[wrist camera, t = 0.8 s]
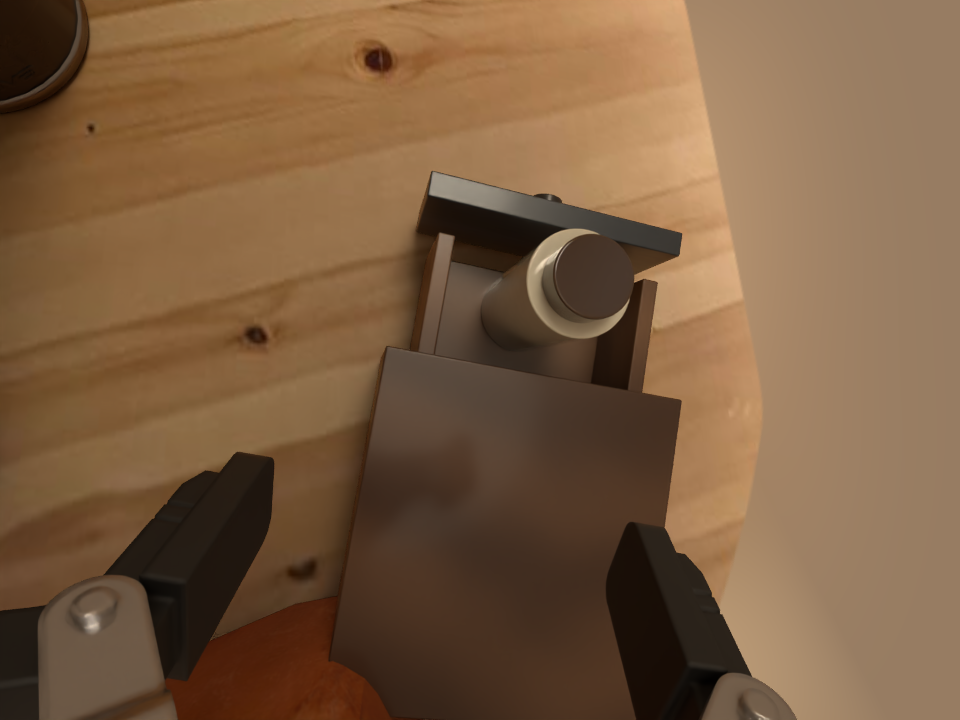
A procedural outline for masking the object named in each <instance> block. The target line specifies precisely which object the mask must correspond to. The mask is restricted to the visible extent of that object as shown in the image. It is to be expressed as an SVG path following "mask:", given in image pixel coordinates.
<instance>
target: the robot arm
mask: <svg viewBox="0 0 960 720" xmlns="http://www.w3.org/2000/svg"><path fill="white" fill-rule="evenodd" d="M87 39H88V21H87V15H86V10H85V7H84V3H83V0H0V113H5V112H10V111H16V110H20V109H23V108H27V107H29V106H32V105H35V104H37V103H39V102H41V101H43V100H45V99H46V98H48V97H50V96H51V95H53V94H54V93H56V92H57V91H58V90H59V89H61V88H62V87H63V86H64V85H65V84H66V83H67V82H68V81H69V79H70V78H71V77H72V76H73V74H74V73H75V71H76V70H77V68H78V67H79V65H80V63H81V61H82V58H83V56H84V53H85V49H86V45H87ZM273 479H274V460H273V458H271V457H265V456H260V455H254V454H248V453H242V452H236V453H235V454H234V455H233V456H232V457H231V459H230V460H229V461H228V463H227V464H226V465H225V466H224V468H223V469H222V470H221V471H220V473H217V472H211V471H204V472H202V473H200V474H199V475H197V476H195V477H193V478H192V479H190V480H188V481H186V482H185V483H183V484H182V485H181V486H180V487H179V489H178V490H177V491H176V492H175V493H174V494H173V495H172V497H171V498H170V499H169V500H168V503H167V505H166V504H165V505H164V506H163V507H162V508H161V509H160V510H159V512H158V513H157V514H156V515H155V518H154V519H152V520H151V521H150V522H149V523H148V524H147V525H146V527H145V528H144V529H143V530H142V531H141V532H140V534H139V535H138V536H137V537H136V538H135V539H134V540H133V542H132V543H131V544H130V545H129V546H128V547H127V549H126V550H125V551H124V552H123V553H122V554H121V555H120V557H119V558H118V559H117V560H116V561H115V562H114V564H113V565H112V566H111V567H110V568H109V569H108V570H107V572H106V573H105V574H104V575H103V576H98V577H93V578H89V579H86V580H83V581H81V582H78V583H76V584H74V585H72V586H70V587H68V588H66V589H65V590H63V591H62V592H60V593H59V594H58V595H56V596H55V597H54V598H53V599H52V600H51V601H50V602H49V603H48V604H47V605H44V606H38V607H31V608H22V609H12V610H3V611H0V720H178V717H177V713H176V708H175V704H174V699H173V696H172V693H171V690H170V689H169V690H167V688H166V684H165V680H166V678H169V679H175V680H182V681H188V679H189V677H190V675H191V673H192V671H193V670H194V668H195V666H196V664H197V662H198V660H199V659H200V657H201V655H202V653H203V651H204V649H205V648H206V646H207V644H208V642H209V640H210V639H211V637H212V635H213V633H214V631H215V629H216V628H217V626H218V624H219V622H220V620H221V618H222V617H223V615H224V613H225V611H226V609H227V608H228V606H229V604H230V602H231V600H232V598H233V597H234V595H235V593H236V591H237V589H238V587H239V586H240V584H241V582H242V580H243V578H244V577H245V575H246V573H247V571H248V569H249V567H250V566H251V564H252V562H253V560H254V558H255V556H256V555H257V553H258V551H259V549H260V547H261V545H262V544H263V542H264V539H265V537H266V534H267V531H268V528H269V524H270V519H271V512H272V495H273ZM606 600H607V604H608V608H609V612H610V616H611V620H612V624H613V628H614V632H615V637H616V641H617V645H618V649H619V653H620V657H621V661H622V665H623V669H624V673H625V677H626V681H627V685H628V689H629V693H630V697H631V701H632V705H633V709H634V713H635V717H636V720H797V719H796V717H795V715H794V713H793V712H792V710H791V708H790V707H789V706H788V705H787V703H786V702H785V701H784V700H783V699H782V698H781V697H780V696H779V695H778V694H777V693H776V692H775V691H774V690H773V689H771V688H770V687H769V686H767V685H766V684H764V683H763V682H761V681H759V680H757V679H755V678H753V677H752V676H751V673H750V671H749V669H748V667H747V665H746V663H745V661H744V659H743V657H742V655H741V653H740V651H739V649H738V646H737V645H736V642H735V640H734V638H733V636H732V634H731V632H730V630H729V628H728V626H727V624H726V621H725V619H724V617H723V615H721V614H720V609H719V607H718V605H717V603H716V601H715V599H714V597H712V592H711V590H710V588H709V586H708V584H707V582H706V580H705V578H704V576H703V574H702V572H701V571H700V570H699V569H698V568H697V567H696V566H695V565H694V564H693V562H692V561H691V560H690V559H689V558H688V557H687V556H686V555H685V554H681V553H676V551H675V549H674V546H673V544H672V542H671V540H670V537H669V535H668V533H667V531H666V529H665V528H663V527H660V526H654V525H648V524H643V523H637V522H629V523H628V524H627V525H626V527H625V529H624V532H623V534H622V537H621V539H620V542H619V545H618V547H617V550H616V552H615V555H614V558H613V560H612V563H611V565H610V568H609V571H608V574H607V579H606Z"/></svg>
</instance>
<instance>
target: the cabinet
mask: <svg viewBox="0 0 960 720" xmlns="http://www.w3.org/2000/svg"><path fill="white" fill-rule="evenodd" d="M681 402H682V401H681V400H679V399H673V398H668V397H662V396H657V395H651V394H646V393H641V392H635V391H630V390H624V389H619V388H613V387H608V386H603V385H597V384H592V383H586V382H581V381H575V380H570V379H564V378H559V377H554V376H548V375H543V374H537V373H532V372H526V371H521V370H516V369H510V368H505V367H499V366H494V365H488V364H483V363H477V362H472V361H467V360H461V359H456V358H450V357H445V356H439V355H434V354H429V353H423V352H418V351H412V350H407V349H401V348H396V347H390V346H386V348H385V350H384V352H383V355H382V357H381V361H380V367H379V372H378V378H377V383H376V388H375V394H374V399H373V405H372V410H371V416H370V421H369V427H368V432H367V437H366V443H365V448H364V454H363V459H362V465H361V470H360V476H359V481H358V486H357V492H356V497H355V503H354V508H353V514H352V519H351V524H350V530H349V535H348V541H347V546H346V552H345V557H344V563H343V568H342V573H341V579H340V584H339V590H338V595H337V596H338V598H337V606H336V612H335V619H334V626H333V633H332V639H331V646H330V653H329V659H328V661H329V662H331V661H334V662H336V663H339V664H342V665H344V666H345V667H347V668H349V669H350V670H352V671H353V672H355V673H357V674H358V675H360V676H362V677H363V678H365V679H366V680H367V682H368V683H369V684H370V685H371V686H372V687H373V689H374V690H375V691H376V692H377V693H378V695H379V697H380V699H381V701H382V702H383V704H384V706H385V708H386V710H387V712H388V714H389V716H390V717H392V718H411V719H430V720H636V717H635V713H634V709H633V705H632V701H631V697H630V693H629V689H628V685H627V681H626V677H625V673H624V669H623V665H622V661H621V657H620V653H619V649H618V645H617V641H616V637H615V632H614V628H613V624H612V620H611V616H610V612H609V608H608V604H607V600H606V579H607V574H608V571H609V568H610V565H611V563H612V560H613V558H614V555H615V552H616V550H617V547H618V545H619V542H620V539H621V537H622V534H623V532H624V529H625V527H626V525H627V524H628V523H629V522H637V523H643V524H648V525H654V526H660V527H663V528H664V527H665V520H666V513H667V505H668V498H669V491H670V483H671V476H672V469H673V461H674V454H675V446H676V439H677V432H678V424H679V417H680V410H681Z"/></svg>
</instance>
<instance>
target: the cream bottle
mask: <svg viewBox="0 0 960 720" xmlns="http://www.w3.org/2000/svg"><path fill="white" fill-rule="evenodd" d="M633 286H634V271H633V266H632V263H631V261H630V258H629V257H628V255H627V253H626V252H625V250H624V249H623V248H622V247H621V246H620V245H619V244H618V243H617V242H615V241H614V240H612V239H610V238H608V237H606V236H603V235H600V234H598V233H596V232H593V231H590V230H586V229H575V228H574V229H566V230H562V231H559V232H557V233H554V234H553V235H551V236H549V237H548V238H546V239H545V240H544V241H543V242H541V243H540V244H539V245H538V246H537V247H535V248H534V249H533V250H532V251H531V252H529V253H528V254H527V255H526V256H525V257H523V258H522V259H521V260H520V261H519V262H517V263H516V264H515V265H514V266H512V267H511V268H510V269H509V270H508V271H506V272H505V273H504V274H503V275H502V276H500V277H499V278H498V279H497V280H496V281H494V282H493V283H492V284H491V285H490V287H489V288H488V290H487V291H486V293H485V295H484V298H483V301H482V307H481V315H482V321H483V324H484V327H485V329H486V331H487V333H488V335H489V336H490V337H491V338H492V340H493V341H494V342H496V343H497V344H498V345H499V346H501V347H503V348H505V349H507V350H510V351H514V352H529V351H534V350H538V349H543V348H548V347H552V346H557V345H561V344H566V343H571V342H575V341H580V340H585V339H589V338H593V337H597V336H599V335H602V334H604V333H605V332H607V331H609V330H610V329H611V328H612V327H614V326H615V325H616V324H617V323H618V321H619V320H620V319H621V317H622V316H623V314H624V313H625V311H626V309H627V306H628V303H629V299H630V296H631V293H632V291H633Z"/></svg>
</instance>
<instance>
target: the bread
mask: <svg viewBox="0 0 960 720" xmlns="http://www.w3.org/2000/svg"><path fill="white" fill-rule="evenodd" d="M337 598H338V596H335V597H330V598H324V599H319V600H314V601H309V602H304V603H298V604H295V605H292V606H290V607H288V608H285V609H283V610H281V611H278V612H276V613H274V614H271V615H269V616H267V617H264V618H262V619H260V620H257V621H255V622H253V623H250V624H248V625H246V626H243V627H241V628H239V629H237V630H234V631H232V632H230V633H227V634H225V635H223V636H221V637H218V638H216V639H214V640H211V641H209V642H208V644H207V646H206V648H205V649H204V651H203V653H202V655H201V657H200V659H199V660H198V662H197V664H196V666H195V668H194V670H193V671H192V673H191V675H190V677H189V679H188V681H182V680H175V679H169V678H166V680H165V684H166V688H167V690H169V689H170V690H171V693H172V696H173V699H174V704H175V708H176V713H177V717H178V720H423V719H411V718H392V717H390V716H389V714H388V712H387V710H386V708H385V706H384V704H383V702H382V701H381V699H380V697H379V695H378V693H377V692H376V691H375V690H374V689H373V687H372V686H371V685H370V684H369V683H368V682H367V680H366V679H365V678H363V677H362V676H360V675H358V674H357V673H355V672H353V671H352V670H350V669H349V668H347V667H345V666H344V665H342V664H339V663H336V662H334V661H331V662H329V661H328V659H329V653H330V646H331V639H332V633H333V626H334V619H335V612H336V606H337Z"/></svg>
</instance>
